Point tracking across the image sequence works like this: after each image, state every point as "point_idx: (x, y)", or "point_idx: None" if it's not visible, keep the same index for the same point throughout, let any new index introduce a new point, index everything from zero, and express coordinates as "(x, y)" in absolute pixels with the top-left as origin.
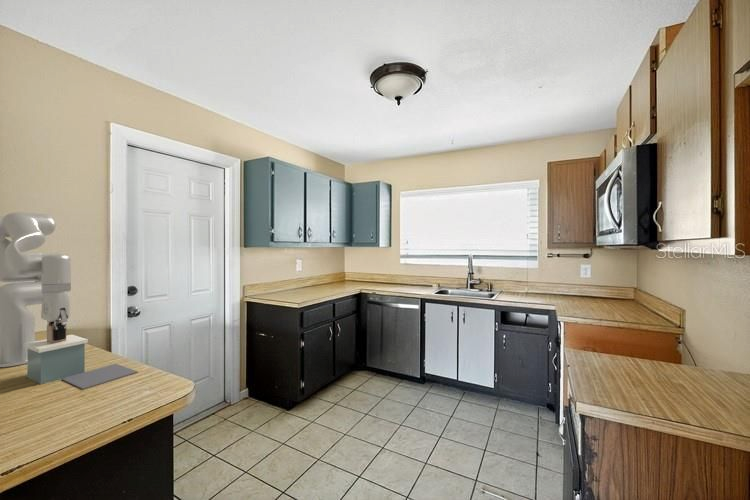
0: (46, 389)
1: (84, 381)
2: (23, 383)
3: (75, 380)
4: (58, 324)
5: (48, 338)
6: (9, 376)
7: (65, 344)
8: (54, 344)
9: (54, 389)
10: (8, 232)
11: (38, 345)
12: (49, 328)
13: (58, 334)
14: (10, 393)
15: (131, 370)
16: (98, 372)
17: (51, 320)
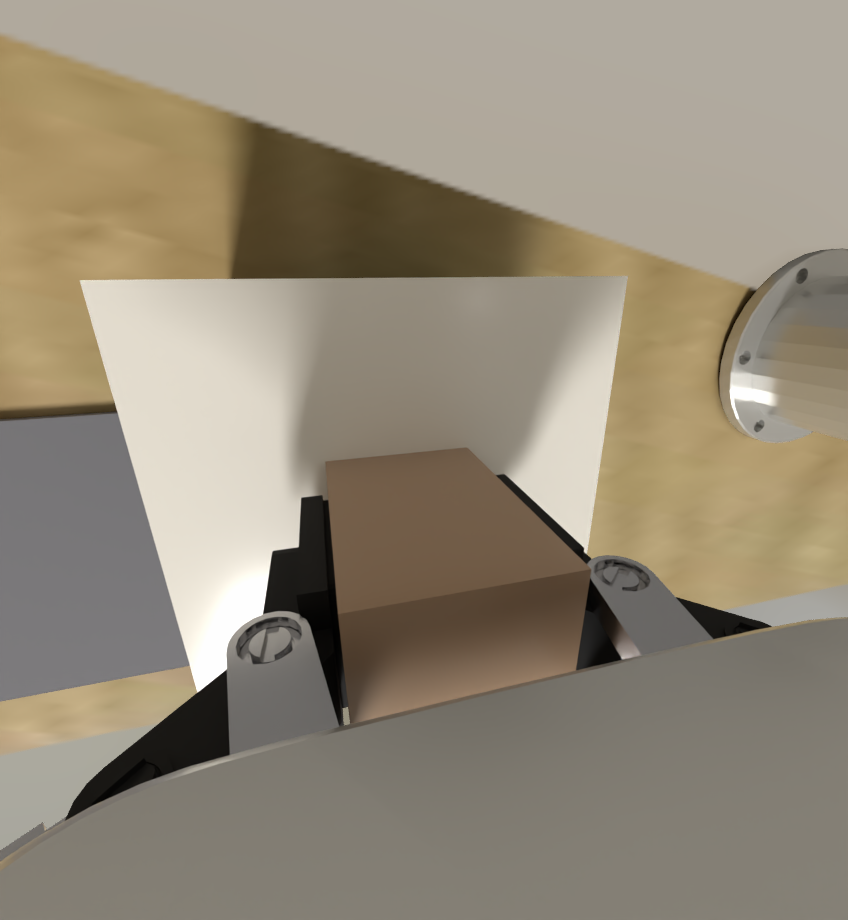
0: (61, 290)
1: (3, 476)
2: (351, 246)
3: (85, 447)
4: (112, 781)
5: (427, 472)
6: (577, 244)
7: (162, 553)
8: (243, 474)
9: (10, 321)
10: None
11: (359, 345)
12: (435, 563)
13: (267, 585)
14: (179, 118)
15: (22, 688)
16: (156, 565)
17: (11, 866)
